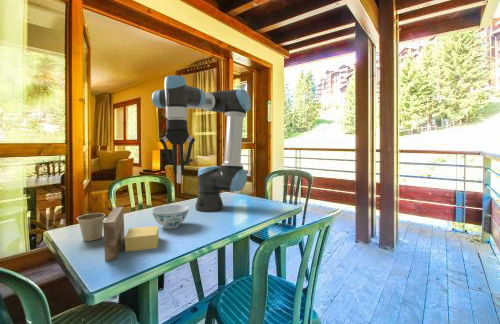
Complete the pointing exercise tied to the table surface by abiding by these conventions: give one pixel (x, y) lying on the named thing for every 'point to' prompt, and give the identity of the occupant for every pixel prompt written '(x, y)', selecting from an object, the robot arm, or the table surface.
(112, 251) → the walnut board
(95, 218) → the flower pot
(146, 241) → the mustard block
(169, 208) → the chinaware
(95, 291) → the table surface
